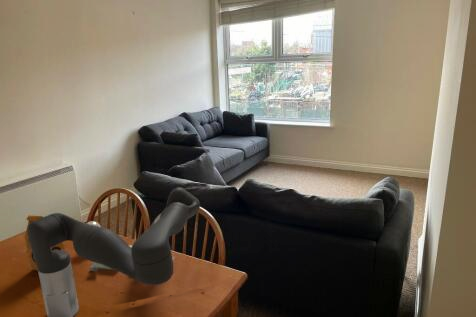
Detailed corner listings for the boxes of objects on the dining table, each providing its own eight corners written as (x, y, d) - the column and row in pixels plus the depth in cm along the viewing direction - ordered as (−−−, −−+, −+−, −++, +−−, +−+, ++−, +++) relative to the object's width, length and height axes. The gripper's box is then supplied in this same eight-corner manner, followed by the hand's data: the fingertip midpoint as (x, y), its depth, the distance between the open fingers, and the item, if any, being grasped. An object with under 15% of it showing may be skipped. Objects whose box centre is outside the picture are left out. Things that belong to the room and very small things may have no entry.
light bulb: (85, 245, 159) (81, 220, 156) (102, 241, 162) (99, 217, 159) (86, 253, 153) (82, 227, 150) (104, 249, 156) (100, 223, 153)
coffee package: (50, 278, 136) (40, 224, 130) (27, 271, 141) (16, 219, 135) (72, 264, 145) (63, 213, 139) (49, 258, 150) (40, 209, 144)
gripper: (152, 242, 123) (136, 261, 134) (185, 226, 133) (167, 245, 144) (142, 223, 125) (126, 243, 136) (175, 209, 135) (158, 229, 146)
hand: (148, 244), depth 140 cm, fingers open, 5 cm apart
